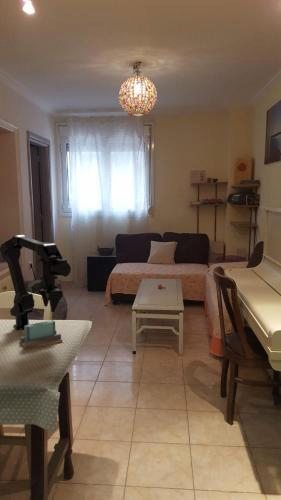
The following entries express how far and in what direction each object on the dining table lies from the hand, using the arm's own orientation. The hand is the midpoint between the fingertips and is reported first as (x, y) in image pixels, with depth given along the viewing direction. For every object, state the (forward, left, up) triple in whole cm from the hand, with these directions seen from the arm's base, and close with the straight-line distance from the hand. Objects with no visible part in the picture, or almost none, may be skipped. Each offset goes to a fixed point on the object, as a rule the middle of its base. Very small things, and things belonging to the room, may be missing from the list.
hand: (49, 309), depth 156 cm
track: (+5, -6, -12) cm, 14 cm away
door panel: (+5, -6, -11) cm, 13 cm away
